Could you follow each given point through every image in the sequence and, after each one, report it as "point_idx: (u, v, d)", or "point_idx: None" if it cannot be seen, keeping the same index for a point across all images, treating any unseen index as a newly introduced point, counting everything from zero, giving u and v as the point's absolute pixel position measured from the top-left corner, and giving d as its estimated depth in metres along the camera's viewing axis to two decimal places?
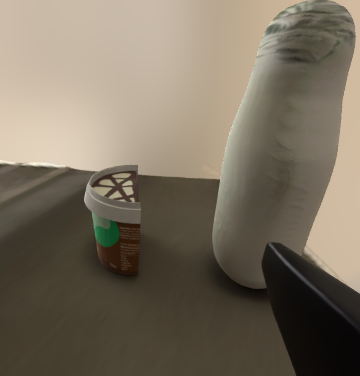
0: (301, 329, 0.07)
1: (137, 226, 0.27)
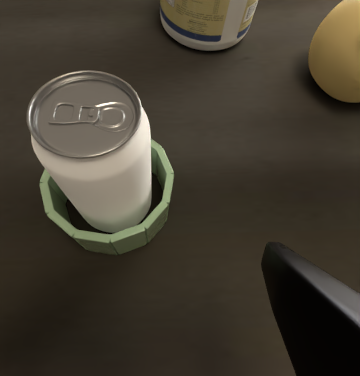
0: (301, 329, 0.07)
1: None
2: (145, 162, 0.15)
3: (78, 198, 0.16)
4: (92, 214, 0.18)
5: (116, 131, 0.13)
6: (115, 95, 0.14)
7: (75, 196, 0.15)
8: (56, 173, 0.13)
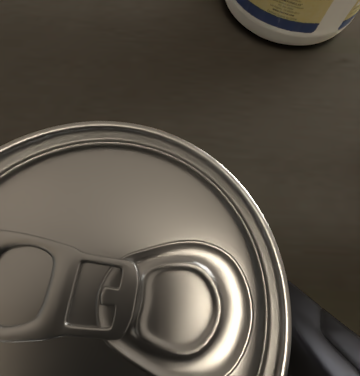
0: None
1: None
2: None
3: None
4: None
5: None
6: (192, 215, 0.04)
7: None
8: None
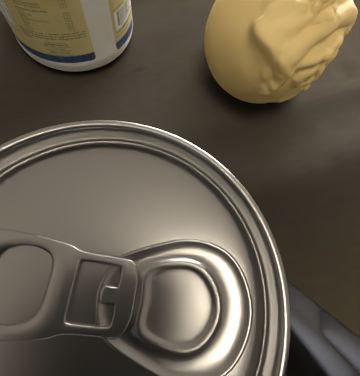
0: None
1: None
2: None
3: None
4: None
5: None
6: (191, 214, 0.04)
7: None
8: None
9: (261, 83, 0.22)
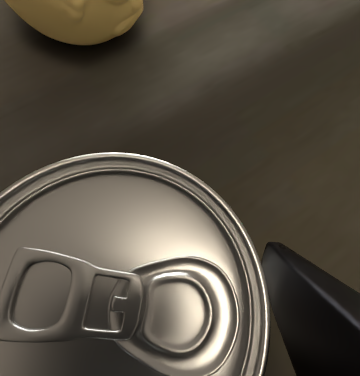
0: (301, 329, 0.07)
1: None
2: None
3: None
4: None
5: None
6: (188, 234, 0.05)
7: None
8: None
9: (58, 0, 0.16)
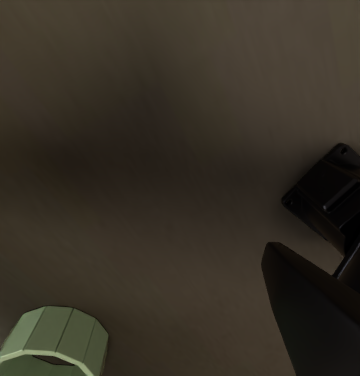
0: (301, 329, 0.07)
1: None
2: None
3: None
4: None
5: None
6: None
7: None
8: None
9: None
